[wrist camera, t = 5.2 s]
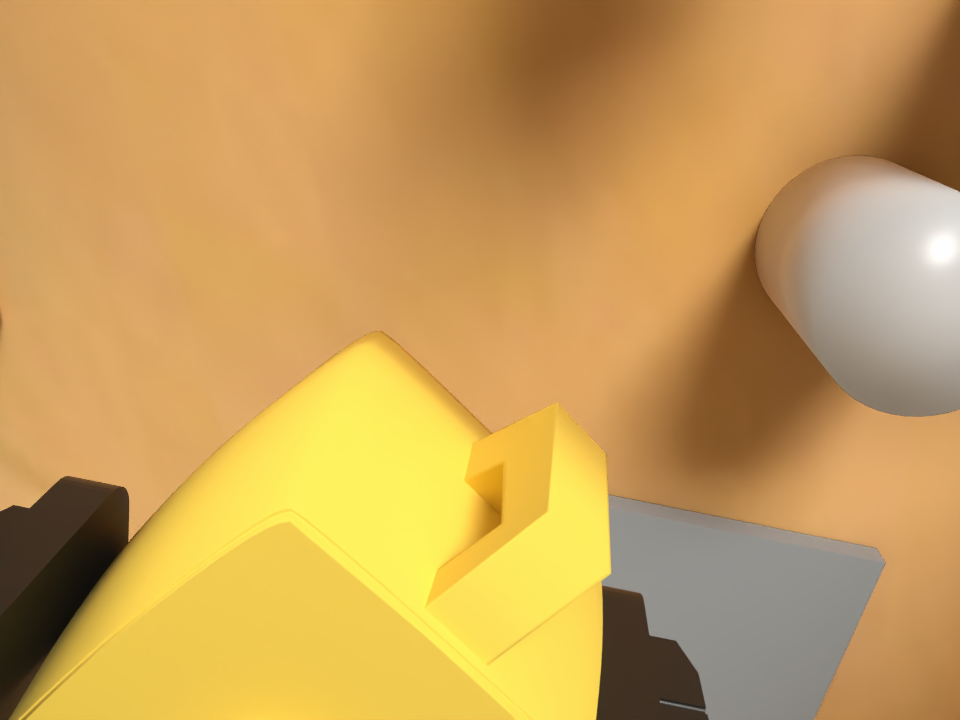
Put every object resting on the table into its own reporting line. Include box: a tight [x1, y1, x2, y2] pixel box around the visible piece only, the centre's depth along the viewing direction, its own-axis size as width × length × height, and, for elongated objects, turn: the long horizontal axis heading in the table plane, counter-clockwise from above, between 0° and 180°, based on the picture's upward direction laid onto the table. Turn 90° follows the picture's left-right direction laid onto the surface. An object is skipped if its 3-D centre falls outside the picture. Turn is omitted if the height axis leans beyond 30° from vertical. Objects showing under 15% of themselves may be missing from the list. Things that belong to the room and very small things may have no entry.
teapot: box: [9, 331, 611, 720], centre depth 10 cm, size 8×6×5 cm
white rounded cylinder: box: [755, 155, 960, 417], centre depth 21 cm, size 5×5×6 cm
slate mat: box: [602, 495, 886, 720], centre depth 30 cm, size 11×11×1 cm
